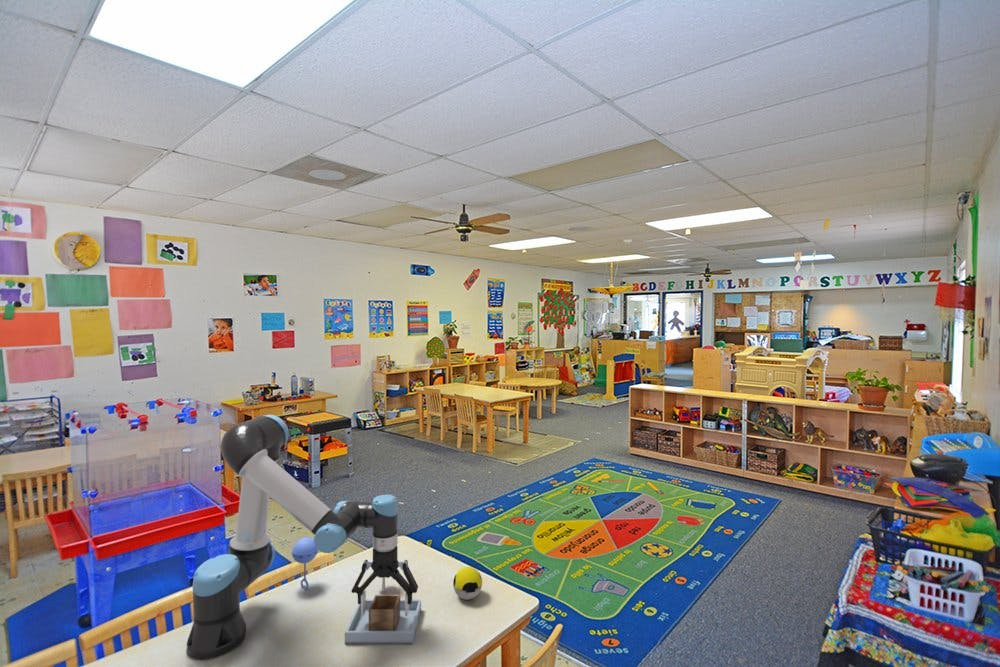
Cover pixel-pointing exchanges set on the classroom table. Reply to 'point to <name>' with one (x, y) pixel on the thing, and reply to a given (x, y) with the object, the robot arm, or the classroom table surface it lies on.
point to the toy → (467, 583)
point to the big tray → (403, 634)
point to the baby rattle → (304, 554)
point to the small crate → (384, 613)
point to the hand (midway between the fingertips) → (385, 613)
